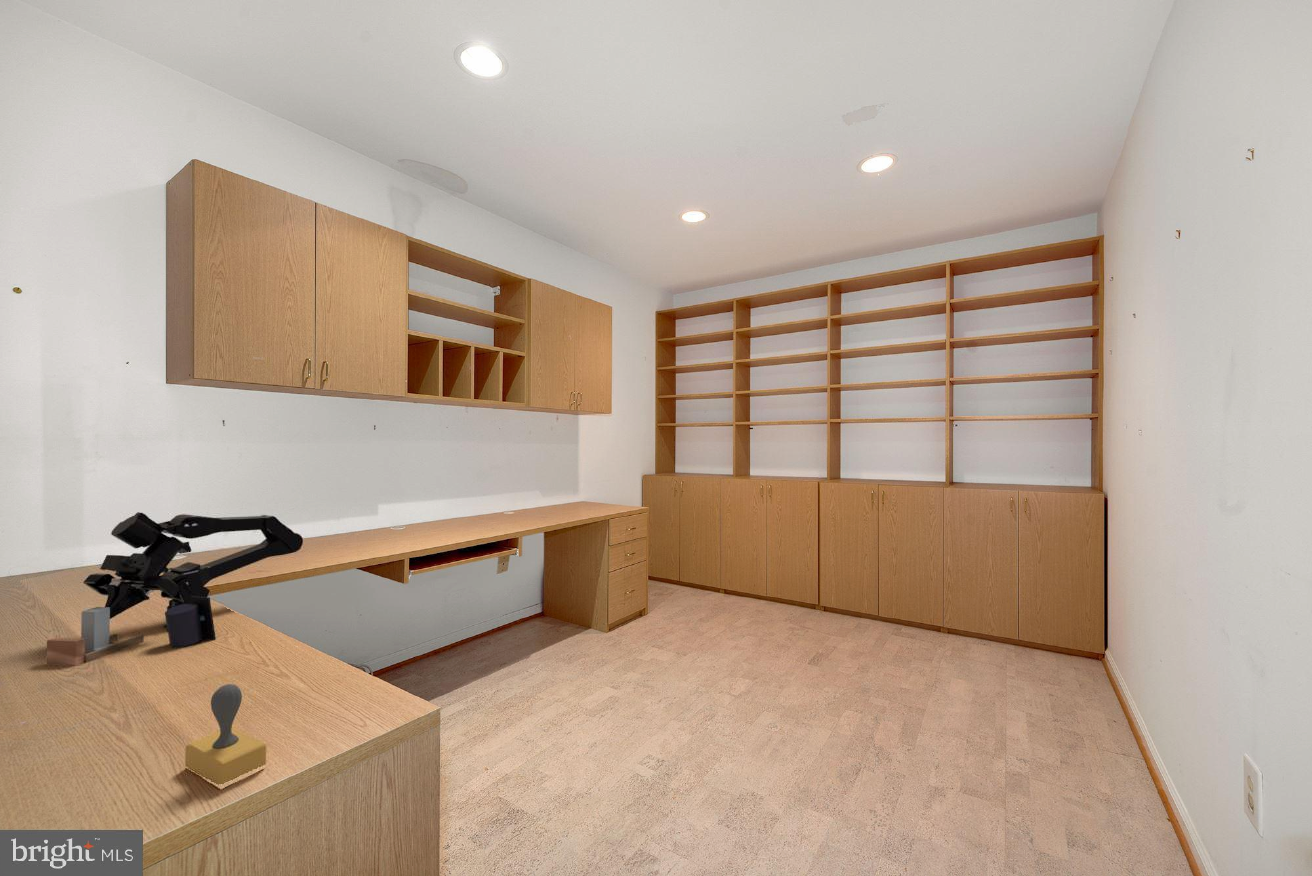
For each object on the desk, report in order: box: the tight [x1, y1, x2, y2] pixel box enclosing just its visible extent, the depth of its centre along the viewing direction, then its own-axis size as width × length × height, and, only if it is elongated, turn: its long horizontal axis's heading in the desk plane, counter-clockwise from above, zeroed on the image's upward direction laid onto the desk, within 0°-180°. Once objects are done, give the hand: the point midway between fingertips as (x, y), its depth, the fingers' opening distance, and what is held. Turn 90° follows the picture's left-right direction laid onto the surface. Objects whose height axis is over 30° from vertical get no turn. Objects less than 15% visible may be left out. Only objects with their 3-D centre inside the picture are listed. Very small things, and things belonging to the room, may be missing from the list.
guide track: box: [46, 633, 145, 667], centre depth 116 cm, size 13×7×5 cm, turn 177°
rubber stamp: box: [184, 683, 267, 785], centre depth 76 cm, size 10×6×12 cm, turn 62°
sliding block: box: [80, 606, 111, 654], centre depth 115 cm, size 3×5×9 cm, turn 87°
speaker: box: [164, 596, 217, 649], centre depth 122 cm, size 8×6×10 cm
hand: (103, 619), depth 117 cm, fingers closed
